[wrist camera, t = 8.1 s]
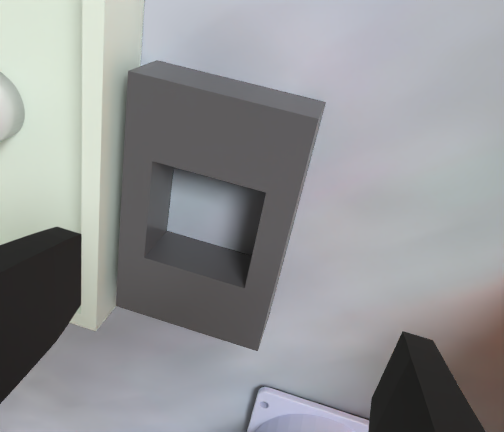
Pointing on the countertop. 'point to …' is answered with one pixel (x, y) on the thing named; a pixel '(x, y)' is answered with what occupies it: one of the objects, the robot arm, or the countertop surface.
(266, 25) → the countertop surface
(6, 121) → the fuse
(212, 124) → the fuse holder
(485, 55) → the countertop surface
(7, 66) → the parts tray
